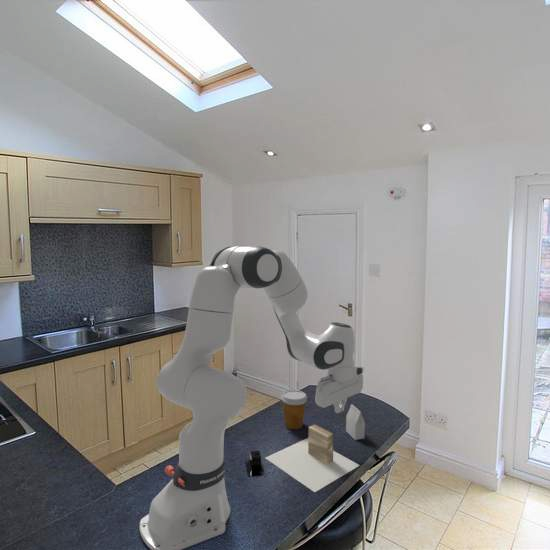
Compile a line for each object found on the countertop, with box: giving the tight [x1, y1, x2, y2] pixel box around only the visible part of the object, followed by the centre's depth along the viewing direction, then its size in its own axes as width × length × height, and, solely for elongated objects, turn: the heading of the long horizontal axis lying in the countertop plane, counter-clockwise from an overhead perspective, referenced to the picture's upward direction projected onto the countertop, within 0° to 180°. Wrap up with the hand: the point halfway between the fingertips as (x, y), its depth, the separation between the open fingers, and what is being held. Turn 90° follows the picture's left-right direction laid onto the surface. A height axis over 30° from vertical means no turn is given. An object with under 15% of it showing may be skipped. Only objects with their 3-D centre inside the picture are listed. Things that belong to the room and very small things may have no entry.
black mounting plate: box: [245, 450, 265, 478], centre depth 125 cm, size 12×7×5 cm, turn 11°
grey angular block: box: [345, 404, 366, 441], centre depth 144 cm, size 4×7×10 cm, turn 18°
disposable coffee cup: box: [281, 389, 308, 430], centre depth 150 cm, size 10×10×12 cm
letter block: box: [308, 424, 335, 464], centre depth 129 cm, size 3×8×9 cm, turn 40°
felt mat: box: [265, 437, 360, 493], centre depth 127 cm, size 20×22×1 cm
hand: (339, 411), depth 134 cm, fingers closed
